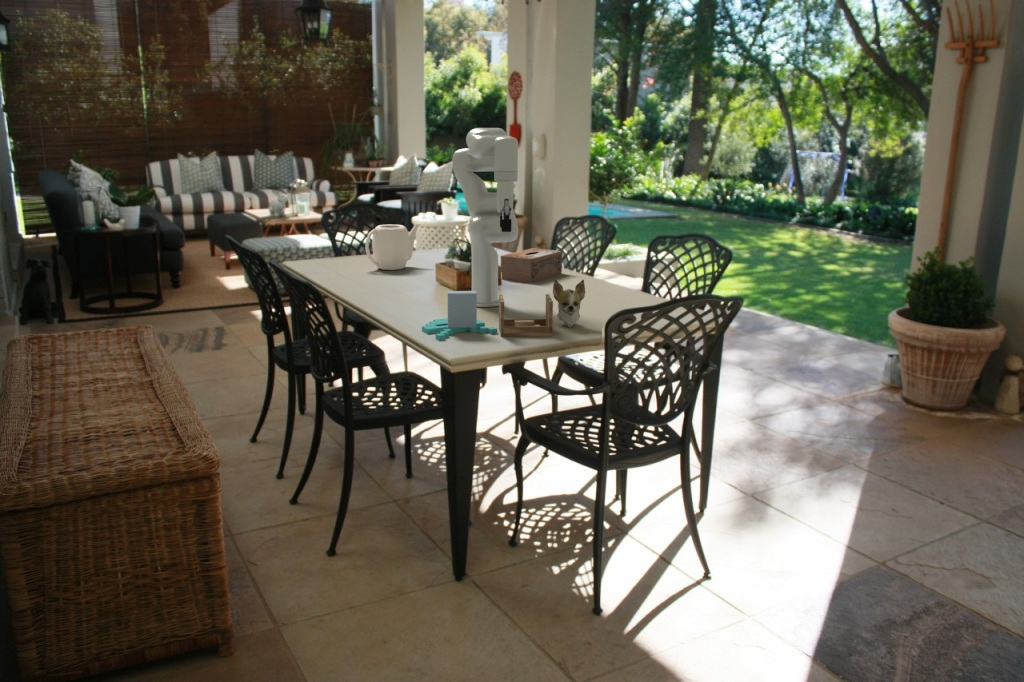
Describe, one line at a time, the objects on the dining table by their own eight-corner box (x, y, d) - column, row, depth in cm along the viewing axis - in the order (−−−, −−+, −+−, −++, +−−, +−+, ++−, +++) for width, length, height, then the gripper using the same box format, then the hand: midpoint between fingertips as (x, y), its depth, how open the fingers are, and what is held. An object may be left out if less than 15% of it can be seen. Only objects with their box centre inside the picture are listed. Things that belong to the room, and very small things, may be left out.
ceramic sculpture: (554, 329, 282) (555, 283, 278) (551, 322, 290) (551, 278, 286) (587, 328, 283) (588, 282, 279) (582, 322, 291) (584, 277, 287)
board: (447, 325, 280) (447, 291, 277) (476, 324, 280) (476, 290, 278) (448, 327, 276) (447, 293, 273) (476, 327, 277) (476, 293, 274)
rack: (498, 328, 282) (499, 294, 280) (548, 327, 284) (549, 294, 281) (500, 336, 272) (501, 301, 269) (552, 336, 273) (552, 301, 270)
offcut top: (514, 325, 276) (514, 320, 276) (533, 324, 277) (533, 320, 276) (515, 326, 274) (515, 322, 273) (534, 326, 274) (534, 321, 274)
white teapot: (429, 267, 389) (428, 225, 384) (374, 273, 373) (373, 229, 369) (411, 262, 401) (410, 221, 396) (358, 268, 386) (357, 225, 381)
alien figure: (497, 335, 276) (470, 322, 293) (497, 328, 276) (470, 315, 293) (438, 342, 267) (414, 328, 284) (438, 335, 267) (414, 321, 284)
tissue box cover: (530, 283, 357) (530, 259, 354) (500, 279, 364) (500, 255, 362) (561, 274, 378) (562, 251, 375) (533, 270, 385) (533, 248, 383)
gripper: (493, 174, 290) (493, 225, 295) (495, 178, 274) (495, 233, 278) (515, 174, 291) (515, 226, 295) (519, 178, 274) (518, 233, 279)
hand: (505, 229), depth 287 cm, fingers open, 9 cm apart
